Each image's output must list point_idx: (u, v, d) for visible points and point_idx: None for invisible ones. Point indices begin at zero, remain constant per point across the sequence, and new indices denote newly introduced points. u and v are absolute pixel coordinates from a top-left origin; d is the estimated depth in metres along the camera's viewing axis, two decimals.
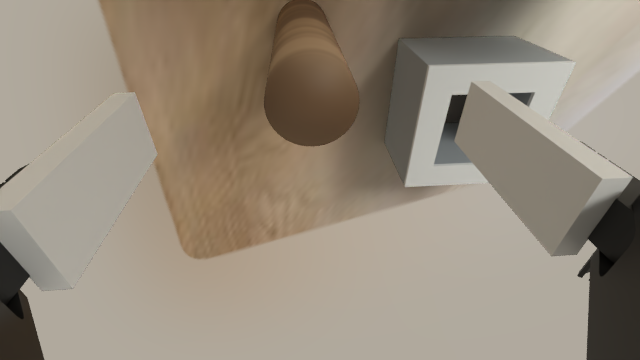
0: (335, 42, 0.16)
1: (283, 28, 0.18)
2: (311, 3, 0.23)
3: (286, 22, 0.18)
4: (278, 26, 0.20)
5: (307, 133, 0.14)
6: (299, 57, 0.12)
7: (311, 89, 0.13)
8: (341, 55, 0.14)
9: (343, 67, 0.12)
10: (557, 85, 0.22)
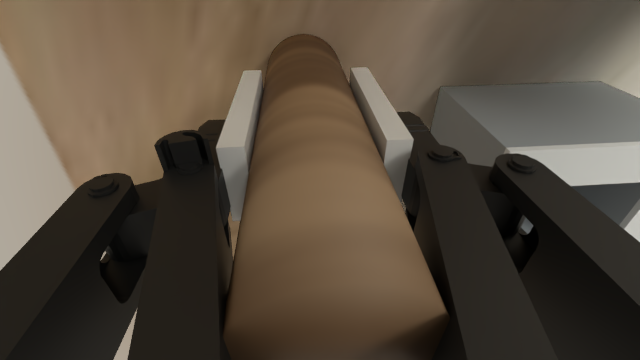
0: (372, 147, 0.08)
1: (273, 106, 0.10)
2: (318, 43, 0.15)
3: (279, 91, 0.11)
4: (266, 89, 0.12)
5: None
6: (307, 283, 0.04)
7: (338, 333, 0.05)
8: (395, 199, 0.07)
9: (424, 293, 0.05)
10: None
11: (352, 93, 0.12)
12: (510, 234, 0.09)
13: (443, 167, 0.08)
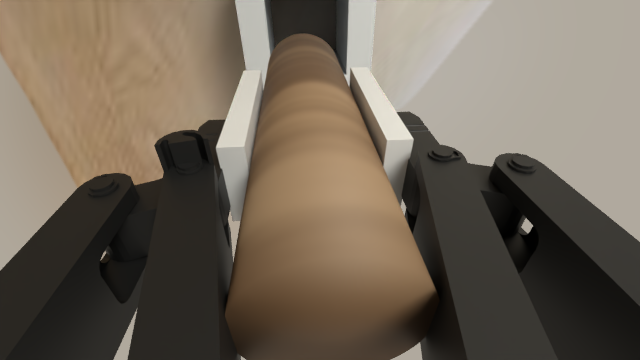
0: (368, 140, 0.09)
1: (273, 102, 0.10)
2: (317, 42, 0.16)
3: (279, 87, 0.11)
4: (267, 86, 0.13)
5: None
6: (305, 256, 0.05)
7: (333, 306, 0.05)
8: (388, 187, 0.07)
9: (412, 267, 0.05)
10: None
11: (350, 90, 0.13)
12: (510, 234, 0.09)
13: (443, 167, 0.08)
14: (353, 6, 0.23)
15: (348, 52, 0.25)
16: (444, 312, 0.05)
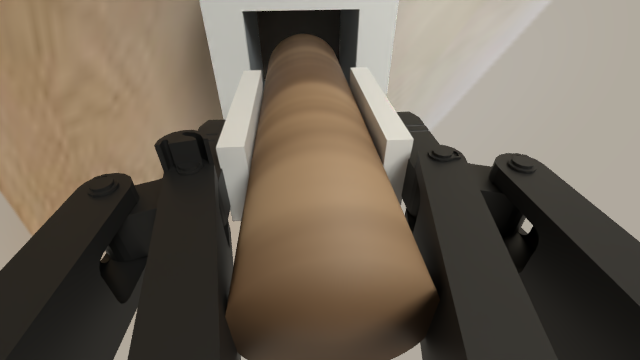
0: (368, 140, 0.09)
1: (274, 102, 0.10)
2: (317, 42, 0.16)
3: (279, 87, 0.11)
4: (267, 86, 0.13)
5: None
6: (306, 256, 0.05)
7: (333, 306, 0.05)
8: (388, 187, 0.07)
9: (413, 268, 0.05)
10: None
11: (350, 90, 0.13)
12: (510, 234, 0.09)
13: (443, 167, 0.08)
14: (364, 31, 0.17)
15: None
16: (445, 312, 0.05)
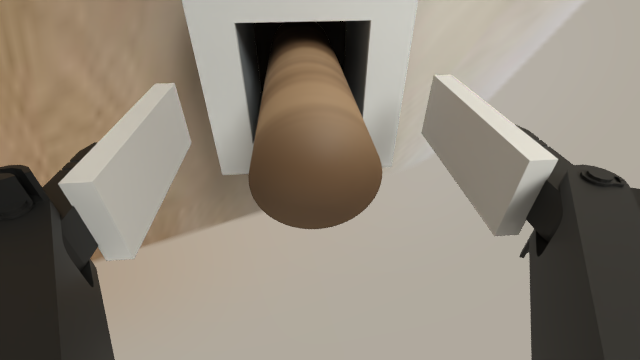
0: (344, 83, 0.12)
1: (277, 61, 0.14)
2: (311, 24, 0.19)
3: (281, 52, 0.15)
4: (271, 55, 0.16)
5: (309, 214, 0.10)
6: (298, 122, 0.08)
7: (315, 162, 0.09)
8: (354, 105, 0.11)
9: (361, 133, 0.09)
10: (404, 8, 0.14)
11: (336, 57, 0.16)
12: None
13: (598, 191, 0.07)
14: (376, 45, 0.15)
15: (365, 109, 0.17)
16: (579, 335, 0.05)
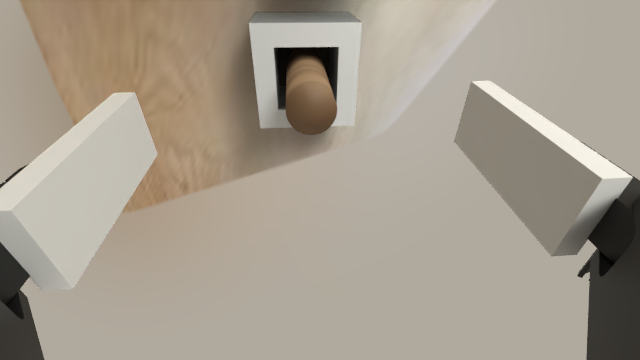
0: (324, 75, 0.27)
1: (293, 66, 0.29)
2: None
3: (295, 61, 0.30)
4: (289, 63, 0.31)
5: (308, 127, 0.25)
6: (305, 86, 0.23)
7: (311, 102, 0.24)
8: (327, 83, 0.26)
9: (328, 91, 0.24)
10: (354, 41, 0.29)
11: (322, 64, 0.31)
12: None
13: None
14: (342, 58, 0.30)
15: (338, 91, 0.32)
16: None
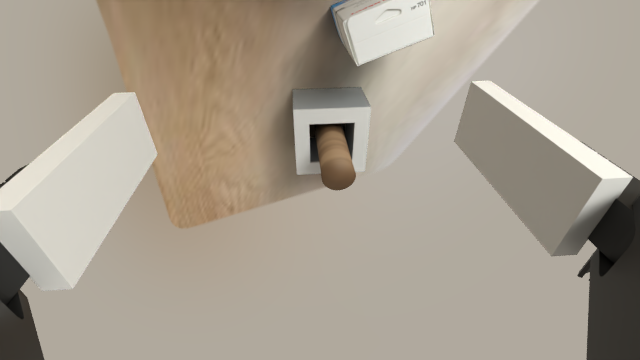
0: (346, 146, 0.40)
1: (323, 136, 0.41)
2: None
3: (323, 132, 0.42)
4: (318, 130, 0.44)
5: (336, 185, 0.38)
6: (335, 162, 0.36)
7: (338, 171, 0.36)
8: (348, 155, 0.38)
9: (350, 165, 0.36)
10: (365, 119, 0.41)
11: (342, 131, 0.44)
12: None
13: None
14: (356, 129, 0.42)
15: (353, 150, 0.44)
16: None
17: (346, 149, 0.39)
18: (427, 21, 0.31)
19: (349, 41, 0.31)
